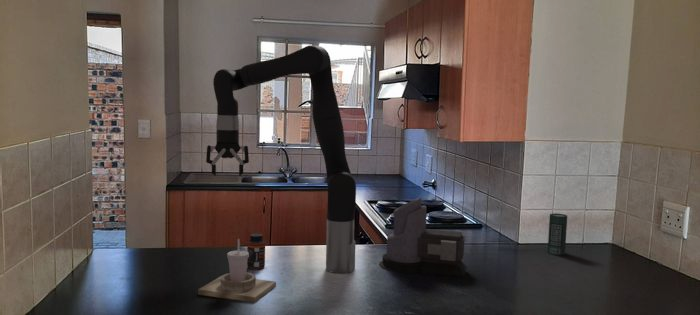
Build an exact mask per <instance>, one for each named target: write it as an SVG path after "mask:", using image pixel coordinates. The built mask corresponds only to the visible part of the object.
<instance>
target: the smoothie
mask: <svg viewBox="0 0 700 315" xmlns="http://www.w3.org/2000/svg"><path fill="white" fill-rule="evenodd" d="M240 246H241V245H240V238H238V239H237V249H236V250H232V251H229V252H227V254H226V258H227V260H228V267H229V273H230V277H231V281H233V282H240V281H245V276H246V272H247V268H248V267H247V260H248V257H249V252H247V250H241V249H240V248H241V247H240Z"/></svg>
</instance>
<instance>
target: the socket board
mask: <svg viewBox="0 0 700 315" xmlns="http://www.w3.org/2000/svg"><path fill="white" fill-rule="evenodd" d="M276 287H277V281H274V280H268V279H267V280H266V279H258V278H256V274H254V273H252V272H247V271H246V276H245V281H240V282H233V281H231V277H230V272H229V273H224V274H223V275H220V276H219V277H216V279H214V280H212V281H210V282H209V283H207V284H205V285H203V286H202V287H200V288H198V289H197V295H198V296H205V297H214V298H220V299H227V300H236V301H242V302H243V301H244V302H248V303H249V302H250V303H256V302H258V301H259V300H260V299H262V298H263V297H264V296H265V295H267V294H268V293H270V291H272V290H273V289H275V288H276Z"/></svg>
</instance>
